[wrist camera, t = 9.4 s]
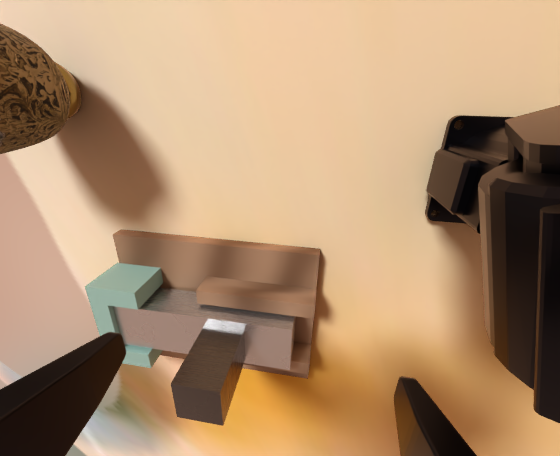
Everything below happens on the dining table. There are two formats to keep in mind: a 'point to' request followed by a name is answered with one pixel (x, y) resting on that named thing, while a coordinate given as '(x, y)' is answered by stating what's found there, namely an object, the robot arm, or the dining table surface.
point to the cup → (32, 93)
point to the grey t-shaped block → (207, 346)
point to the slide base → (235, 279)
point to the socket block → (124, 302)
